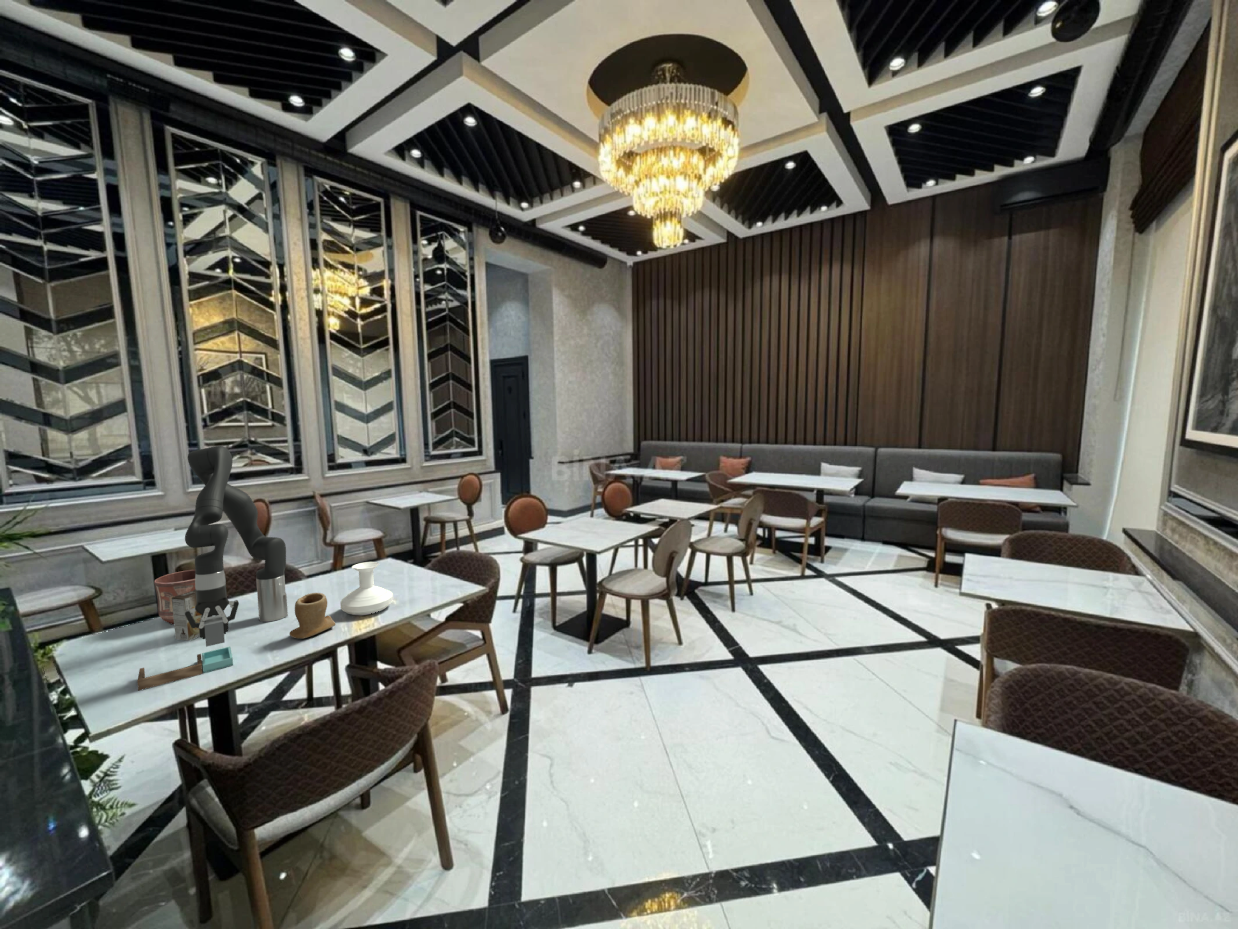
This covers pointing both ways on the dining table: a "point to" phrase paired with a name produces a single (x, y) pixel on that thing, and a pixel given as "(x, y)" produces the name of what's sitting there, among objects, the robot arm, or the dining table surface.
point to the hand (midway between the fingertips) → (214, 635)
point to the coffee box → (180, 621)
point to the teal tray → (217, 659)
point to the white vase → (366, 593)
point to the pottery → (172, 591)
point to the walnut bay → (169, 675)
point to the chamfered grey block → (214, 630)
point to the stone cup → (311, 616)
